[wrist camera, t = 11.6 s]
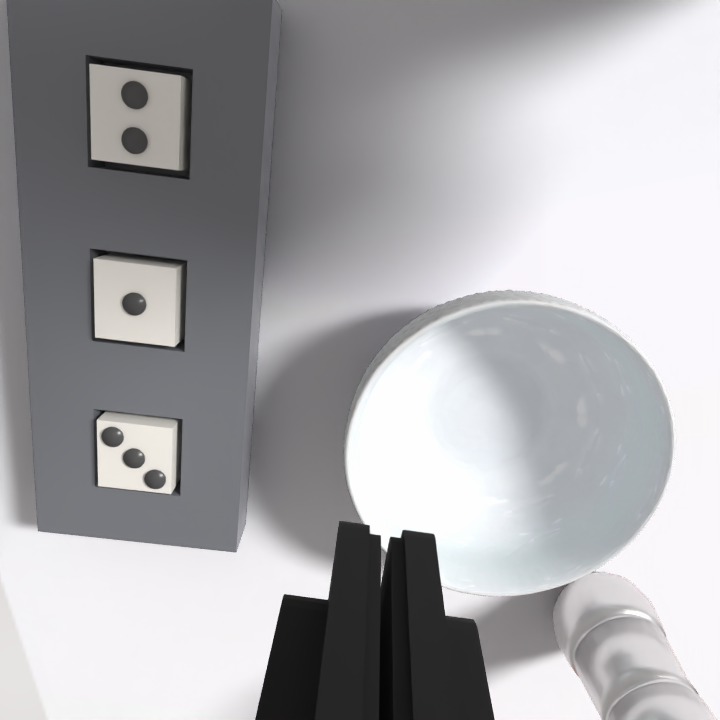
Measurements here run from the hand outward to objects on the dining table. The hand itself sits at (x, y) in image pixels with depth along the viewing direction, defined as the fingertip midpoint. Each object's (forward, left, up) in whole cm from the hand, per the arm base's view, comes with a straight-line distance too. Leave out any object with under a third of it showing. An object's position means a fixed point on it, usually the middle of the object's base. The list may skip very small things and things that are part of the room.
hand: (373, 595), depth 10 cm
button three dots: (+10, -12, -24) cm, 28 cm away
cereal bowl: (+6, +8, -25) cm, 27 cm away
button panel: (+1, -12, -25) cm, 28 cm away
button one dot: (+1, -12, -24) cm, 27 cm away
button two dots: (-8, -12, -24) cm, 28 cm away
